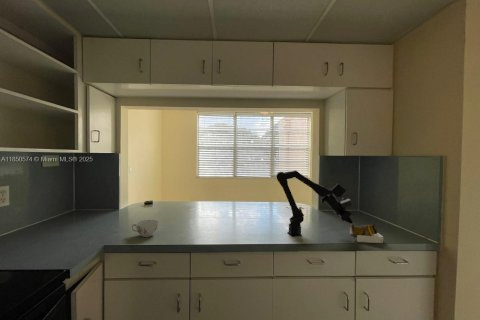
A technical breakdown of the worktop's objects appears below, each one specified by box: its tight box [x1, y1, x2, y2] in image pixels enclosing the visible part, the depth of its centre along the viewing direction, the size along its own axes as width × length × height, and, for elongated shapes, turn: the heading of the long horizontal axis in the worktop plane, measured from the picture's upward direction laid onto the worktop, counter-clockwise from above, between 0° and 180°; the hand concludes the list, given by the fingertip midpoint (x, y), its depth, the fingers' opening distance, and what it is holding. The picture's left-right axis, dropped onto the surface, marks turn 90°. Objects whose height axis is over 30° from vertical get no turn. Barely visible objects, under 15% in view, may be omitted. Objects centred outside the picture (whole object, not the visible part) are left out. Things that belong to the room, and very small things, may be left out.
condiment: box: [349, 222, 378, 240], centre depth 147 cm, size 7×8×12 cm
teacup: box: [130, 219, 159, 238], centre depth 149 cm, size 15×12×8 cm
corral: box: [349, 227, 384, 244], centre depth 150 cm, size 14×14×4 cm
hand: (351, 222), depth 151 cm, fingers closed
